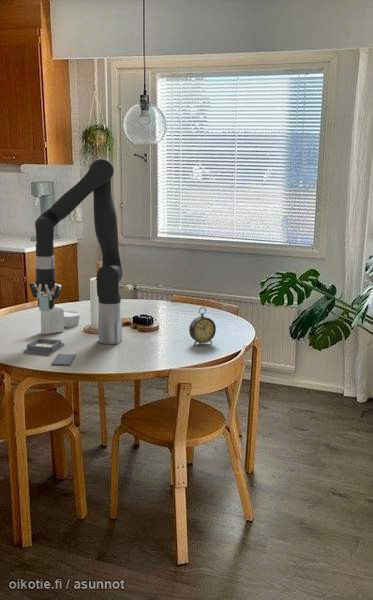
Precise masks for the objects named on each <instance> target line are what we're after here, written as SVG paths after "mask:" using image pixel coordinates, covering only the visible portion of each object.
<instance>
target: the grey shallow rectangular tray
mask: <svg viewBox="0 0 373 600" xmlns="http://www.w3.org/2000/svg"><path fill="white" fill-rule="evenodd" d="M65 345H66V344H65V342H64V343H63V342H62V340H61V339H53V338H44V337H39V338H38V337H37V338H36V339H34V340H32V341H31V342H29V343H27V344H26V348H25V349H24V350H22V351H23V354H30V355H40V356H51V355H52V354H54V353H55V352H56V351H58V350H60V349H61V348H62V347H64V346H65Z"/></svg>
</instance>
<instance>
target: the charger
mask: <svg viewBox="0 0 373 600" xmlns="http://www.w3.org/2000/svg"><path fill="white" fill-rule="evenodd" d="M38 309H39V311H40V312H41V311H47V312H49V311H51V310H53V309H49V296H48V294H47V293H43V295H41V296H39V306H38Z"/></svg>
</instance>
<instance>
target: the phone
mask: <svg viewBox="0 0 373 600" xmlns="http://www.w3.org/2000/svg"><path fill="white" fill-rule="evenodd" d="M76 357H77V354H76V353H75V354H73V353H72V354H70V353H69V354H68V353H57V355H55V358H54V359H53V361H52V362H51V366H55V367H56V366H58V367H59V366H62V367H63V366H64V367H65V366H66V367H71V365H72V364H73V362H74V360H75V358H76Z"/></svg>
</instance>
